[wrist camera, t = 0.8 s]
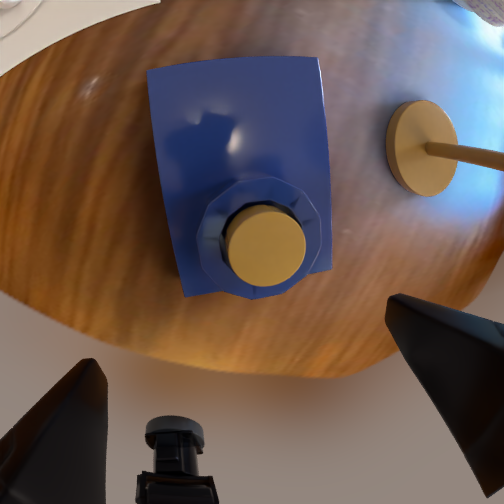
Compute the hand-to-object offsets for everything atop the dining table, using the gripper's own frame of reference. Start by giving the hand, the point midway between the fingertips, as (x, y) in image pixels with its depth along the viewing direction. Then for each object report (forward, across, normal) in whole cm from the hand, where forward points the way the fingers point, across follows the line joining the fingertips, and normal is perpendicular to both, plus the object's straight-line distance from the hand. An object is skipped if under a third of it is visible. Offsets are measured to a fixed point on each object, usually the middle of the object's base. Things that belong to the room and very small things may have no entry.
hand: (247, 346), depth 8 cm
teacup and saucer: (+13, +12, -25) cm, 31 cm away
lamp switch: (+9, -2, 0) cm, 9 cm away
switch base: (+12, -2, -3) cm, 13 cm away
